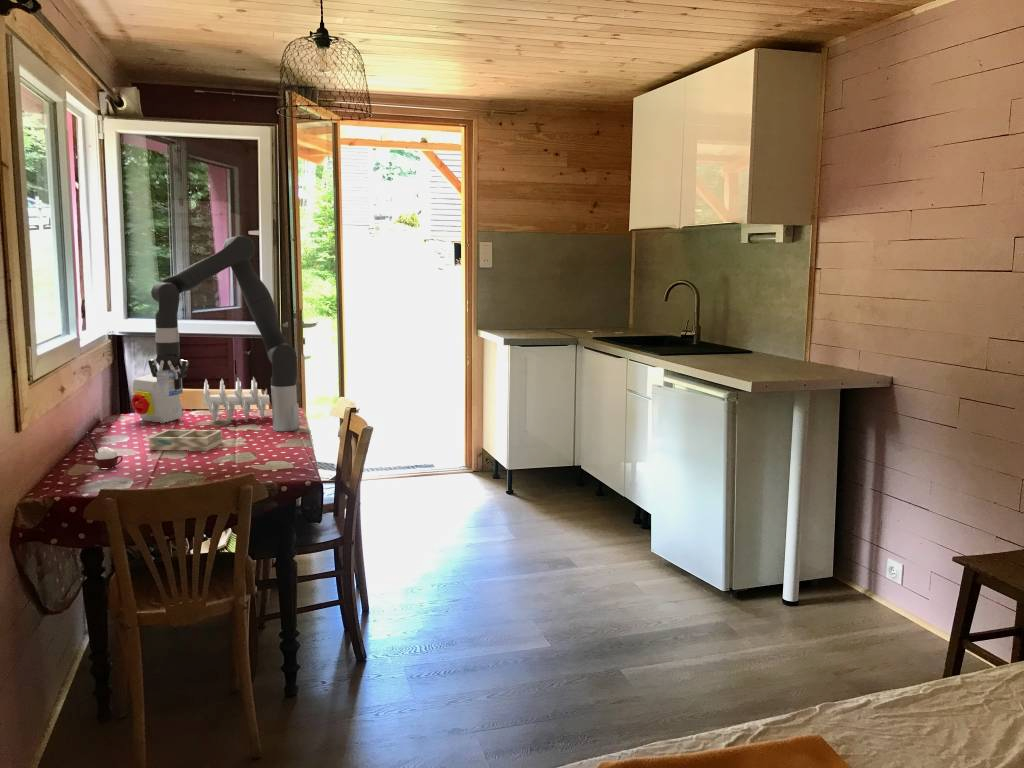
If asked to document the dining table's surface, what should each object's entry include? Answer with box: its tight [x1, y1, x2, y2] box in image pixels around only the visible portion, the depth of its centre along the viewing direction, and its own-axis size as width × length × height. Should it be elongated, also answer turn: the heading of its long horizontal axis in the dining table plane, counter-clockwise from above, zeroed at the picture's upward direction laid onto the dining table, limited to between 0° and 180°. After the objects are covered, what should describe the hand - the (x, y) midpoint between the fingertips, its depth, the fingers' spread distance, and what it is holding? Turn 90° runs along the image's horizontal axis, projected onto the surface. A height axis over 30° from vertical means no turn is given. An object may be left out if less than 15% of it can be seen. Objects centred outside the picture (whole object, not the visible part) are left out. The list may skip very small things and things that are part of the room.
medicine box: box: [157, 368, 183, 396], centre depth 279 cm, size 8×4×9 cm, turn 167°
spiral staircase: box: [203, 376, 270, 424], centre depth 324 cm, size 18×18×25 cm
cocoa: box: [85, 431, 124, 469], centre depth 250 cm, size 10×6×12 cm, turn 104°
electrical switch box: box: [131, 373, 184, 424], centre depth 323 cm, size 15×15×20 cm
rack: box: [148, 429, 223, 452], centre depth 280 cm, size 20×13×4 cm, turn 87°
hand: (170, 389), depth 280 cm, fingers closed on medicine box, 4 cm apart
